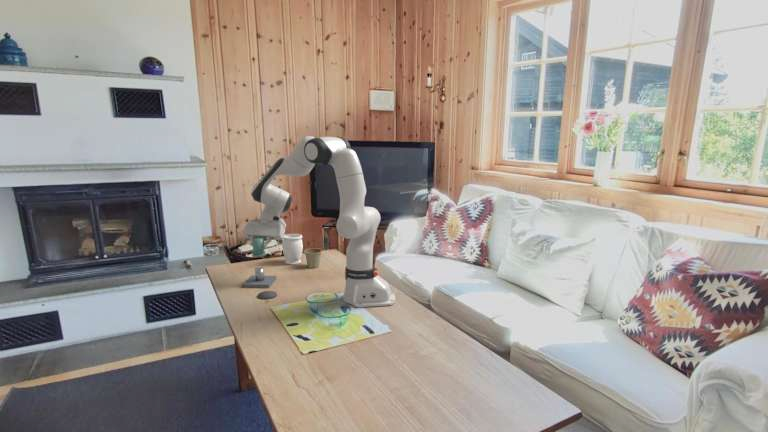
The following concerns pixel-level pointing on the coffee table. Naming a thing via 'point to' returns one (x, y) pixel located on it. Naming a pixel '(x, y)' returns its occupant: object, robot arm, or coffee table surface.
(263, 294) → the pad
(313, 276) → the coffee table surface
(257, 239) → the cap
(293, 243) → the jar
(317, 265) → the flower pot
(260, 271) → the grey rounded piece
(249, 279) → the post slab
